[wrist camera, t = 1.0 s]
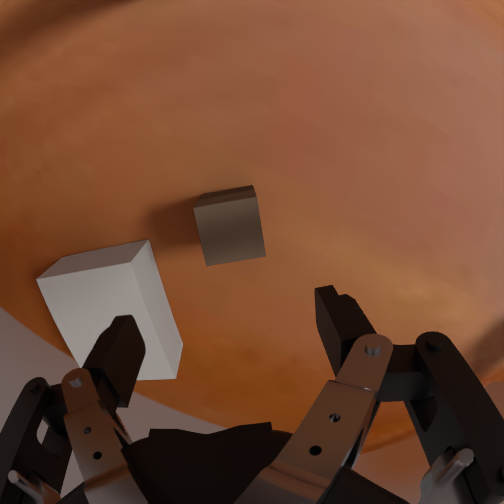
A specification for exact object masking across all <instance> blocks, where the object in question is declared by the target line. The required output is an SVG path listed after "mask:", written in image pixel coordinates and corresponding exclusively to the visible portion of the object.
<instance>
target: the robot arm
mask: <svg viewBox="0 0 504 504" xmlns="http://www.w3.org/2000/svg"><path fill="white" fill-rule="evenodd" d="M315 309H316V323H317V328H318V332H319V335H320V337H321V340H322V342H323V345H324V348H325V350H326V353H327V356H328V358H329V361H330V364H331V366H332V369H333V372H334V374H335V377H336V378H335V380H334V381H333V380H328V381H327V383H326V384H325V385H324V387H323V389H322V390H321V392H320V394H319V395H318V397H317V398H316V400H315V402H314V403H313V405H312V406H311V408H310V410H309V411H308V413H307V414H306V416H305V417H304V419H303V420H302V422H301V423H300V425H299V426H298V428H297V429H296V431H295V432H294V434H293V433H289V432H284V431H278V430H272V425H271V422H265V423H257V424H249V425H239V426H236V427H233V428H229V429H226V430H223V431H219V432H215V433H211V434H200V433H195V432H190V431H185V430H180V429H150V432H149V436H148V437H147V438H143V439H140V440H138V441H135V442H133V441H132V440H131V438H130V436H129V434H128V432H127V431H126V429H125V427H124V425H123V423H122V421H121V419H120V417H119V416H118V414H117V413H116V409H117V407H124V408H127V407H128V405H129V401H130V398H131V395H132V392H133V389H134V386H135V383H136V380H137V377H138V374H139V371H140V368H141V365H142V362H143V360H144V357H145V353H146V347H145V342H144V340H143V337H142V335H141V333H140V330H139V328H138V326H137V323H136V321H135V319H134V317H133V316H132V315H120V316H115V318H114V319H113V321H112V323H111V324H110V326H109V327H107V328H106V329H105V330H104V331H103V332H102V333H101V334H100V335H99V337H98V339H97V341H96V343H95V344H94V346H93V349H91V351H90V353H89V355H88V357H87V359H86V360H85V362H84V364H83V366H82V368H77V369H74V370H72V371H70V372H68V373H67V374H66V375H65V376H64V378H63V379H62V383H61V384H56V385H52V386H49V384H48V383H47V381H46V380H45V379H44V378H42V377H37V378H34V379H32V380H30V381H29V382H28V383H27V384H26V385H25V386H24V388H23V390H22V392H21V394H20V395H19V397H18V399H17V401H16V403H15V405H14V407H13V408H12V410H11V412H10V414H9V416H8V418H7V420H6V422H5V425H4V427H3V429H2V431H1V433H0V504H410V503H408V502H407V501H406V500H404V499H402V498H400V497H399V496H397V495H395V494H393V493H391V492H389V491H387V490H386V489H384V488H382V487H380V486H379V485H377V484H375V483H373V482H372V481H370V480H368V479H366V478H365V477H363V476H361V475H360V474H358V473H357V472H355V471H353V470H352V469H353V467H354V465H355V463H356V461H357V459H358V457H359V454H360V452H361V450H362V447H363V445H364V442H365V440H366V437H367V435H368V433H369V430H370V428H371V426H372V424H373V421H374V419H375V416H376V414H377V412H378V409H379V407H380V404H381V402H391V401H404V404H405V406H406V408H407V410H408V413H409V415H410V418H411V420H412V422H413V425H414V427H415V430H416V432H417V434H418V437H419V439H420V442H421V444H422V447H423V450H424V452H425V455H426V457H427V460H428V463H429V465H430V468H429V470H428V471H427V472H426V473H425V475H424V476H423V478H422V480H421V483H420V484H421V485H420V490H421V498H420V501H419V503H418V504H499V503H501V502H502V501H504V419H503V418H502V416H501V414H500V413H499V411H498V409H497V408H496V406H495V404H494V403H493V401H492V400H491V398H490V396H489V395H488V393H487V392H486V390H485V389H484V387H483V386H482V384H481V383H480V381H479V380H478V378H477V377H476V375H475V374H474V372H473V371H472V369H471V368H470V366H469V365H468V364H467V362H466V361H465V359H464V358H463V357H462V355H461V354H460V352H459V351H458V350H457V348H456V347H455V346H454V344H453V343H452V341H451V340H450V339H449V338H448V337H447V336H446V335H444V334H442V333H439V332H425V333H423V334H421V335H420V336H419V337H418V338H417V339H416V343H415V344H413V345H394V344H392V342H391V341H390V339H388V338H387V337H385V336H383V335H380V334H377V333H376V331H375V330H374V328H373V327H372V325H371V324H370V322H369V320H368V319H367V317H366V316H365V314H364V313H363V311H362V309H361V308H360V306H359V305H358V303H357V302H356V300H355V299H354V298H352V297H350V296H349V295H347V294H343V295H338V293H337V292H336V290H335V288H334V287H333V285H329V286H323V287H318V288H315ZM42 419H43V421H44V422H45V423H46V424H47V425H48V426H49V427H48V430H47V432H46V435H45V437H44V440H43V442H42V445H41V444H40V443H39V441H38V439H37V429H38V427H39V425H40V423H41V420H42ZM72 449H73V452H74V455H75V458H76V460H77V463H78V466H79V469H80V471H81V474H82V477H83V479H84V482H82V483H81V484H80V485H79V486H77V487H76V488H75V489H73V490H72V491H71V492H70V493H68V494H67V495H66V496H64V497H63V498H62V499H61V498H60V493H61V489H62V485H63V481H64V477H65V474H66V470H67V466H68V463H69V459H70V456H71V452H72Z"/></svg>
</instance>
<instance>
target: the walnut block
mask: <svg viewBox="0 0 504 504" xmlns="http://www.w3.org/2000/svg"><path fill="white" fill-rule="evenodd" d="M193 209H194V214H195V219H196V223H197V228H198V232H199V237H200V241H201V245H202V250H203V254H204V258H205V262H206V266H210V265H216V264H222V263H228V262H234V261H240V260H246V259H253V258H259V257H265V256H266V253H265V247H264V240H263V234H262V227H261V221H260V215H259V208H258V202H257V196H256V193H255V190H254V187H253V185H251V186H245V187H239V188H233V189H228V190H222V191H217V192H211V193H206V194H202V195H201V197H200V198H199V200H198V201H197V203H196V205H195V206H194V208H193Z"/></svg>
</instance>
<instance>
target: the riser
mask: <svg viewBox="0 0 504 504" xmlns="http://www.w3.org/2000/svg"><path fill="white" fill-rule="evenodd" d="M36 281H37V283H38V286H39V288H40V290H41V293H42V295H43V297H44V299H45V302H46V304H47V306H48V308H49V310H50V312H51V315H52V317H53V319H54V321H55V323H56V325H57V327H58V329H59V331H60V332H61V334H62V336H63V338H64V340H65V342H66V344H67V346H68V347H69V349H70V351H71V353H72V354H73V356H74V358H75V360H76V361H77V363H78V365H79V366H80V368H82V366H83V364H84V362H85V360H86V359H87V357H88V355H89V353H90V351H91V349H93V346H94V344H95V343H96V341H97V339H98V337H99V335H100V334H101V333H102V332H103V331H104V330H105V329H106V328H107V327H109V326H110V324H111V323H112V321H113V319H114V318H115V316H120V315H132V316H133V317H134V319H135V321H136V323H137V326H138V328H139V330H140V333H141V335H142V337H143V340H144V342H145V347H146V353H145V357H144V360H143V362H142V365H141V368H140V371H139V374H138V377H137V380H156V379H175V378H176V375H177V371H178V366H179V361H180V357H181V352H182V348H183V343H182V340H181V337H180V335H179V332H178V329H177V326H176V324H175V321H174V318H173V315H172V312H171V309H170V306H169V303H168V300H167V297H166V294H165V291H164V288H163V285H162V282H161V278H160V275H159V272H158V269H157V265H156V262H155V259H154V255H153V252H152V248H151V245H150V241H149V239H147V240H142V241H137V242H132V243H127V244H122V245H117V246H112V247H108V248H103V249H98V250H93V251H88V252H84V253H79V254H75V255H70V256H65V257H62V258H61V259H59V260H58V261H57V262H56V263H55V264H53V265H52V266H51V267H50V268H49V269H48V270H46V271H45V272H44V273H43V274H42V275H41V276H39V277H38V278H37V279H36Z"/></svg>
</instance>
